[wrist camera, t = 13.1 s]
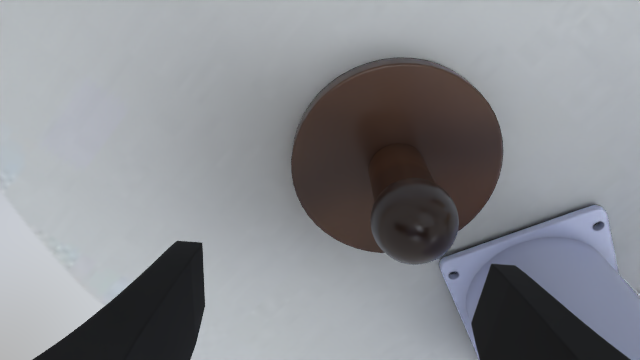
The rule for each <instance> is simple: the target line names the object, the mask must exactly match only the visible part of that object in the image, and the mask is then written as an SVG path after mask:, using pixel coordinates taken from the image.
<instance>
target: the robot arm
mask: <svg viewBox="0 0 640 360" xmlns="http://www.w3.org/2000/svg"><path fill="white" fill-rule="evenodd" d="M596 222H599V223H598V224H597V225H595V226H593V225H594V224H595V223H596ZM439 267H440V270H441V273H442V275H443V277H444V280H445V282H446V284H447V287H448V289H449V291H450V293H451V296H452V298H453V300H454V303H455V305H456V307H457V310H458V312H459V314H460V317H461V319H462V321H463V324H464V326H465V328H466V331H467V333H468V335H469V338H470V340H471V342H472V345H473V347H474V349H475V352H476V354H477V356H478V359H479V360H640V297H639V296H638V295H637V294H636V293H635V292H634V291H633V289H632V288H631V287H630V286H629V285H628V284H627V283H626V282H625V280H624V279H623V278H622V277H621V276H620V275H619V272H618V267H617V261H616V256H615V251H614V246H613V241H612V236H611V230H610V225H609V220H608V215H607V212H606V210H604V209H603V208H602V207H601V206H599V205H592V206H589V207H586V208H583V209H580V210H577V211H575V212H572V213H569V214H566V215H563V216H560V217H557V218H555V219H552V220H549V221H546V222H543V223H540V224H537V225H535V226H532V227H529V228H526V229H523V230H520V231H517V232H515V233H512V234H509V235H506V236H503V237H500V238H497V239H495V240H492V241H489V242H486V243H483V244H480V245H477V246H475V247H472V248H469V249H466V250H463V251H460V252H458V253H455V254H452V255H449V256H446V257H444V258H442V259H441V261H440V263H439ZM453 271H456V273H454V274H449V273H451V272H453ZM204 307H205V296H204V273H203V250H202V243H199V242H185V241H176V242H175V243H174V244H173V245H172V246H171V247H170V248H168V249H167V250H166V251H165V252H164V253H163V254H162V255H161V256H160V257H159V258H158V259H157V260H156V261H155V262H154V263H153V264H152V265H151V266H150V267H149V268H148V269H146V270H145V271H144V272H143V273H142V274H141V275H140V276H139V277H138V278H137V279H136V280H135V281H133V282H132V283H131V284H130V285H129V286H128V287H127V288H126V289H124V290H123V291H122V292H121V293H120V294H119V295H118V296H117V297H115V298H114V299H113V300H112V301H111V302H109V303H108V304H107V305H106V306H105V307H103V308H102V309H101V310H100V311H98V312H97V313H96V314H95V315H94V316H92V317H91V318H90V319H88V320H87V321H86V322H85V323H84V324H82V325H81V326H80V327H78V328H77V329H76V330H74V331H73V332H72V333H70V334H69V335H68V336H66V337H65V338H63V339H62V340H61V341H59V342H58V343H57V344H55V345H54V346H52V347H51V348H49V349H48V350H46V351H45V352H44V353H42V354H40V355H39V356H37V357H36V358H34V359H33V360H190V359H191V356H192V353H193V350H194V348H195V345H196V341H197V337H198V333H199V329H200V325H201V320H202V316H203V312H204Z"/></svg>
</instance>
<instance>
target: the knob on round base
mask: <svg viewBox="0 0 640 360" xmlns="http://www.w3.org/2000/svg"><path fill="white" fill-rule="evenodd" d="M502 159H503V140H502V135H501V130H500V126H499V123H498V121H497V118H496V115H495V113H494V112H493V110H492V108H491V106H490V105H489V103H488V102H487V101H486V99H485V98H484V97H483V96H482V94H481V93H480V92H479V91H478V90H477V89H476V88H475V87H474V86H473V85H471V84H470V83H469V82H468V81H467V80H466V79H465V78H463V77H462V76H460V75H459V74H457V73H456V72H454V71H453V70H451V69H449V68H446V67H444V66H442V65H440V64H437V63H433V62H430V61H427V60H421V59H415V58H391V59H382V60H378V61H374V62H370V63H367V64H364V65H361V66H359V67H356V68H354V69H352V70H350V71H348V72H346V73H344V74H342V75H341V76H339V77H338V78H336V79H335V80H334V81H332V82H331V83H329V84H328V85H327V86H326V87H325V88H324V89H323V90H322V91H321V92H320V93H319V94H318V95H317V96H316V97H315V99H314V100H313V101H312V102H311V103H310V105H309V107H308V108H307V110H306V111H305V113H304V115H303V116H302V119H301V121H300V123H299V125H298V128H297V131H296V135H295V138H294V144H293V151H292V159H291V172H292V179H293V185H294V188H295V191H296V194H297V197H298V199H299V201H300V203H301V205H302V207H303V208H304V210H305V211H306V213H307V214H308V216H309V217H310V218H311V219H312V220H313V222H314V223H315V224H316V225H317V226H318V227H320V228H321V229H322V230H323V231H324V232H325V233H327V234H328V235H330V236H331V237H333V238H334V239H336V240H338V241H340V242H342V243H344V244H346V245H349V246H351V247H354V248H357V249H361V250H365V251H370V252H378V253H386V254H387V255H388V256H390V257H391V258H393V259H395V260H397V261H399V262H402V263H406V264H412V265H418V264H425V263H429V262H432V261H434V260H436V259H438V258H439V257H441V256H442V255H444V254H445V253H446V252H447V251H448V250H449V248H450V247H451V246H452V244H453V242H454V240H455V238H456V235H457V232H458V231H459V230H460V229H462V228H463V227H464V226H466V225H467V224H468V223H469V222H470V221H471V220H472V219H473V218H474V217H475V216H476V215H477V214H478V213H479V212H480V211H481V210H482V208H483V207H484V205H485V204H486V203H487V201H488V200H489V198H490V196H491V194H492V192H493V191H494V189H495V186H496V184H497V181H498V178H499V175H500V171H501V167H502Z"/></svg>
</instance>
